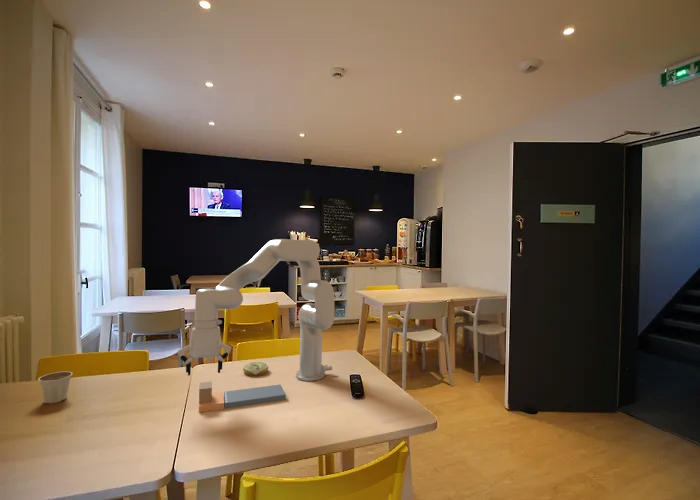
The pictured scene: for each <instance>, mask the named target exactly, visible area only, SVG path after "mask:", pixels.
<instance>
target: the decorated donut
mask: <svg viewBox="0 0 700 500" xmlns="http://www.w3.org/2000/svg"><path fill="white" fill-rule="evenodd" d="M268 370H269V366H268V364H267V363H264V362H261V361H253V362H249V363H246V364H244V365H243V366H242V371H243V373H244V374H245V375H246V376H249V377H253V376H255V377H259V376H264V375H266V374H267V373H268Z"/></svg>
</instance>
